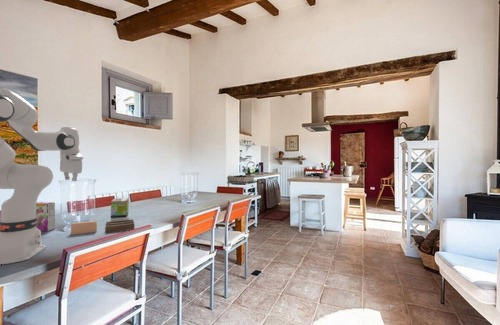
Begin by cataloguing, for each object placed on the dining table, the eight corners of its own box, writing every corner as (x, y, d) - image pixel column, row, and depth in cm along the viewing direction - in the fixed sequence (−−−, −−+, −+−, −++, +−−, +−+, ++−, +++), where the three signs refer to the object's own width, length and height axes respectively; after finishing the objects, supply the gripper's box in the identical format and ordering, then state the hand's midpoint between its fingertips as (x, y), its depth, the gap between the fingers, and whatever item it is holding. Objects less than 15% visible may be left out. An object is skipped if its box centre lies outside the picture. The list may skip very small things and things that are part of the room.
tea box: (127, 222, 160) (127, 200, 160) (110, 223, 156) (110, 201, 156) (128, 217, 174) (128, 197, 174) (112, 218, 170) (112, 198, 170)
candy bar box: (29, 231, 138) (30, 202, 138) (38, 228, 143) (38, 201, 143) (47, 231, 137) (47, 203, 137) (55, 229, 142) (55, 201, 142)
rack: (134, 229, 143) (134, 223, 143) (105, 232, 136) (105, 226, 136) (133, 224, 154) (133, 219, 154) (106, 227, 146) (106, 222, 146)
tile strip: (96, 231, 138) (96, 221, 138) (70, 234, 132) (71, 224, 132) (96, 230, 140) (96, 220, 140) (71, 233, 134) (71, 223, 134)
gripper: (56, 155, 139) (56, 179, 139) (71, 156, 127) (71, 182, 128) (68, 155, 144) (69, 178, 145) (84, 156, 133) (85, 181, 133)
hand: (70, 180), depth 136 cm, fingers open, 8 cm apart
